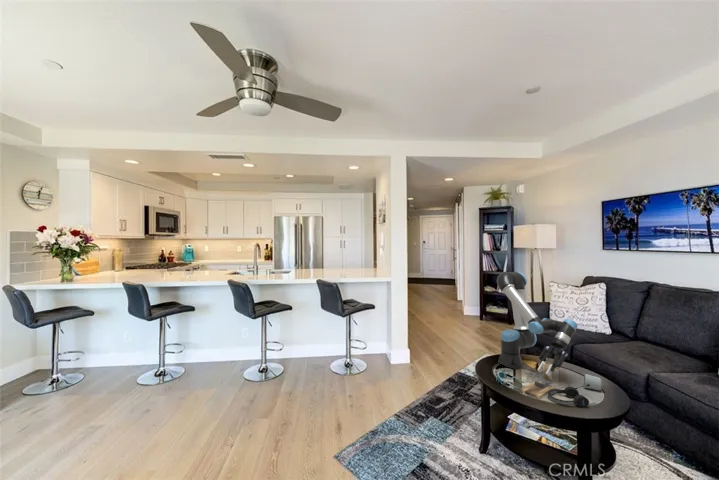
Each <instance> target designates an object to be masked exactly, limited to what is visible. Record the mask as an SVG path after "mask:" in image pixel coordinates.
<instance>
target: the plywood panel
mask: <svg viewBox="0 0 719 480" xmlns="http://www.w3.org/2000/svg"><path fill="white" fill-rule="evenodd" d="M554 389H555V387H554V386H550V385H549V386H548V387H546V388H545V389H543V388H540V387H538V386H535V381H533V382H531V383H529V384H528V385H527V384H526V386H523V387H521V389H519V391H520V392H521V393H522V394H525V395H528V396H530V397H533V398H535V399H538V400H540V399H542V398H543V397H545V396H546V395H547V396H548V392H549V391H550V390H554Z"/></svg>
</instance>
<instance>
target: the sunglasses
mask: <svg viewBox="0 0 719 480" xmlns="http://www.w3.org/2000/svg"><path fill="white" fill-rule="evenodd" d="M503 377H504V378H503ZM506 377H508V378H510V379H511V378H512V379H515V380H517V381H519V382H520V383H524V384H525V382H524V381H522V380H521V379H519V378H518V377H516V376H513V375H511V374H508V373H506V372H505V371H497V374H496V381H497V380H498V382H500V383H501V384H502V385H505V386H507V387H511V388H515V389H517V390H520V389H521V388H522V387H521V388H520V387H518V386H515V385H512V384H511V383H508V382H506V381H504V380H503V379H505V378H506ZM498 382H497V383H498Z"/></svg>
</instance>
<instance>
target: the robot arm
mask: <svg viewBox="0 0 719 480" xmlns="http://www.w3.org/2000/svg"><path fill="white" fill-rule="evenodd" d="M496 278H497V279H496V284H497V287H498V289H499V290H500V291H501V293H502V294H505V295H506V297H507V298H508V300H510V302H511V308H512V312H513V313H512V315H513V320H514V326H513V328H512V329H504V330H502V331H501V334H500V355H499V357H498V363H499V362H500V363H501V364H502V365H504V366H506V367H509V368H508V369H510V368H513V369H512V370H520V369H521V370H522V369H523V367H524V366H523V365H524V364H523V360H522V358H521V354H520V353H521V352H520V351H521V349H527V348H531V347H534V346H535V345H536V343H537V341H538V339H537V335H541V334H544V333H545V334H546V333H551V332H553V333H556V334H555V336H554V338H553V340H552V341H551V344H550V345H549V346H547V345H544V346H543V349H542V351H541V353H540V355H539V356H538V359H539V361H540V362H539V364H538V365H539V366H538V368H537V371H538V373H540V374H541V373H542V372H543V362H545V361H546V358H548V360H549V359H550V358H551V357H552V356H553V355H554V358H553V361H552V363H551V365H550V367H549V368H548V370H547V372H546V374H547V375H548V376H550V374H551V375H552V372H554V371H555V369H556V368H558V369H560V368H561V367H562V365H563V363H564V361H565V360H566V359H567V357H568V356H569V354H568V353H567V352H566V351H565V350H566V349H567V347H568V345H569V344H570V342H571V340H572V337H573V335H575V333H576V331H577V329H578V323H577V322H575V320H572V319H570V318H566V319H563V321H560V320H555V319H551V318H547V317H546V318H545V317H544V318H542V319H541V318H540V317H539V316H538V315H537V313H536V312H535V311H534V310H533V309H532V308H531V306H530V305H529V303H527V301H526V300H525V296H524V291H525V290H526V289H525V288H526V285H527V284H528V283H527V282H528V279H527V277H526V275H524V274H523V273H522V272H521V271H508V272H507V271H505V272H504V271H503V272H502V273H500V274H498V276H497V277H496ZM506 367H505V368H506Z"/></svg>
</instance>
